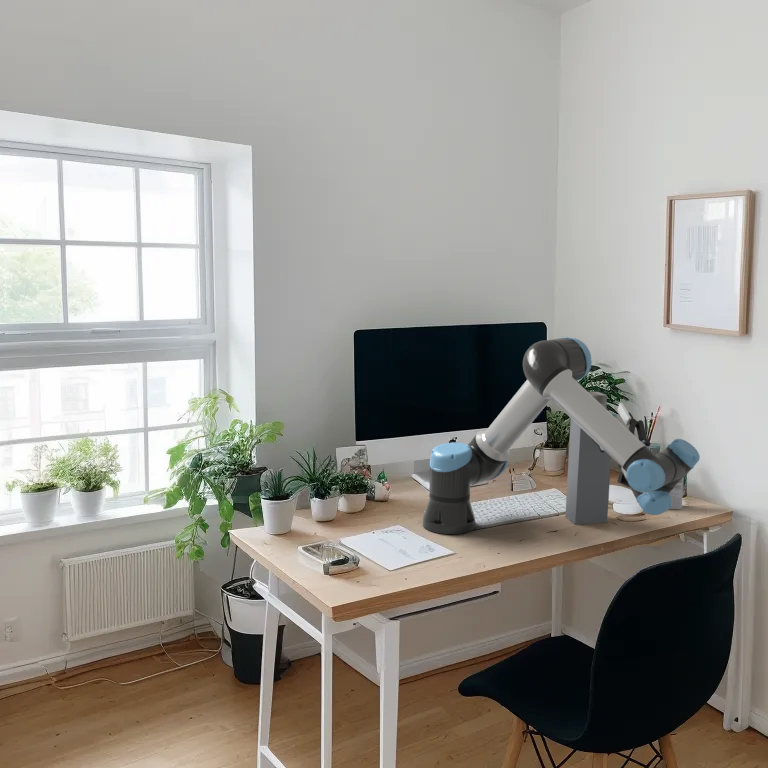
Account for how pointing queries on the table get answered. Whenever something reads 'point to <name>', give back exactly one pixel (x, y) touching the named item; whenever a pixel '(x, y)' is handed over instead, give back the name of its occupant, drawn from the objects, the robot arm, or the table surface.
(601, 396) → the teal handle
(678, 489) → the ink cartridge box
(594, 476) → the charcoal stand
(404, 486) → the table surface
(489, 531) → the table surface
